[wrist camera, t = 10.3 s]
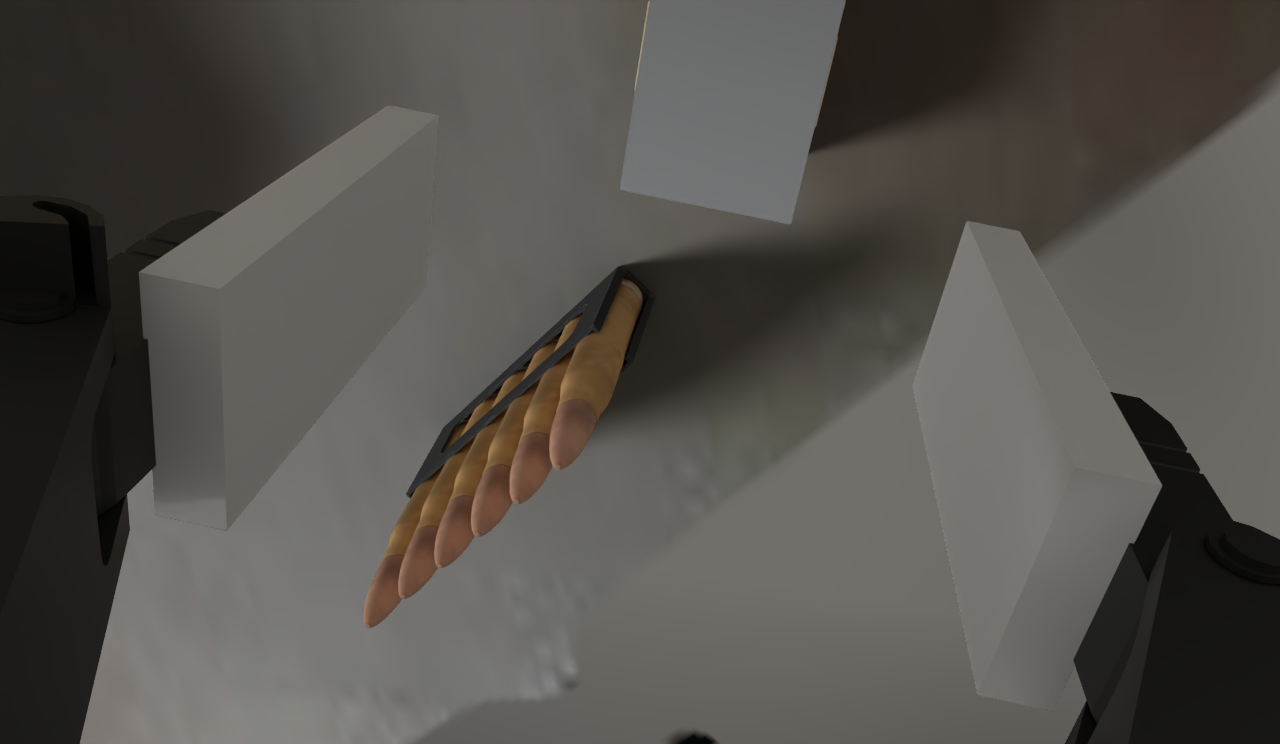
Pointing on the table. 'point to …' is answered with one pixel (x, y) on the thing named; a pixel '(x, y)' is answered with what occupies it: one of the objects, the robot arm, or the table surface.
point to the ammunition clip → (512, 438)
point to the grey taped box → (729, 102)
